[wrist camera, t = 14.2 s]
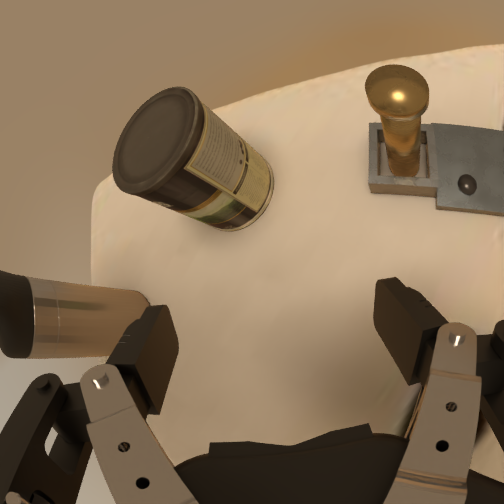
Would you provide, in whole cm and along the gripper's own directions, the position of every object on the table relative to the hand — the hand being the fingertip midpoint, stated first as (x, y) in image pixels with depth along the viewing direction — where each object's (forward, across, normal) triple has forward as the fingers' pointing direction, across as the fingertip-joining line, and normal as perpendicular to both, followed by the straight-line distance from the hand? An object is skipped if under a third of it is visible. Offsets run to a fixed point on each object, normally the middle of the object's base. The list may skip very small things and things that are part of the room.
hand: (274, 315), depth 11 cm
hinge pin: (+17, -15, -4) cm, 23 cm away
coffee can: (+26, +2, -1) cm, 26 cm away
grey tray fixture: (+14, -20, -3) cm, 25 cm away
